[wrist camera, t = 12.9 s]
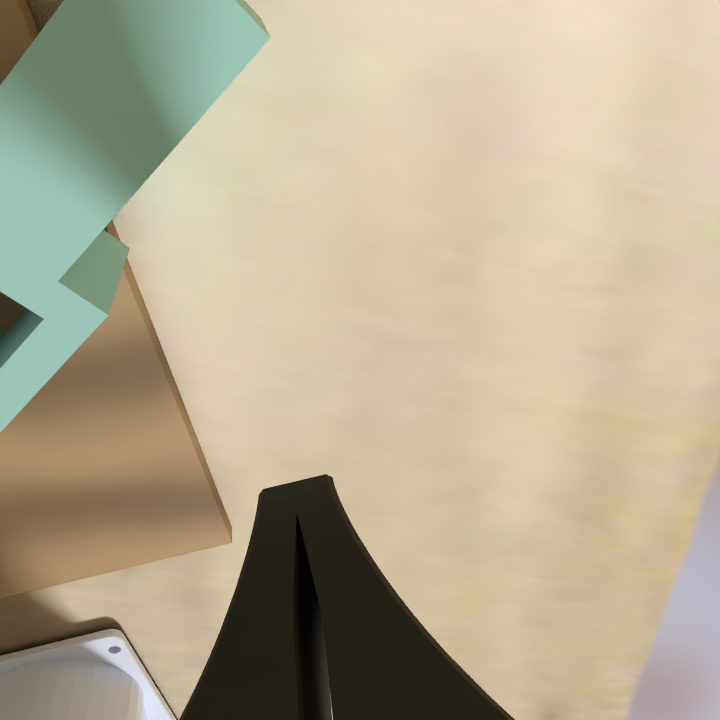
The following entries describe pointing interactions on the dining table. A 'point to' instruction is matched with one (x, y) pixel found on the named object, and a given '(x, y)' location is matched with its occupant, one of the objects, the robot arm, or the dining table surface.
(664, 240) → the dining table surface
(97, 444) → the board
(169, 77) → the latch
